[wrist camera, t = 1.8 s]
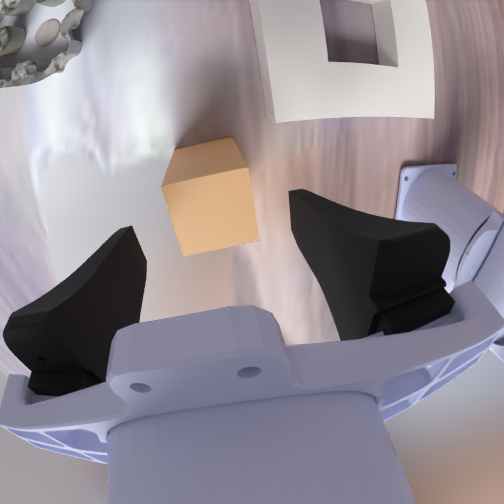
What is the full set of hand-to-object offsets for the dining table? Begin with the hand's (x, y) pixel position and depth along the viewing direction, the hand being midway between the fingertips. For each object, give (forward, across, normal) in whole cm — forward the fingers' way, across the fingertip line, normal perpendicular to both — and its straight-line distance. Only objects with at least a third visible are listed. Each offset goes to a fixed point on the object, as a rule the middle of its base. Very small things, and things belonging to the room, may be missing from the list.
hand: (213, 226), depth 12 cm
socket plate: (+8, -11, -10) cm, 17 cm away
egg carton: (+9, +11, -15) cm, 20 cm away
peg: (+8, 0, 0) cm, 8 cm away
